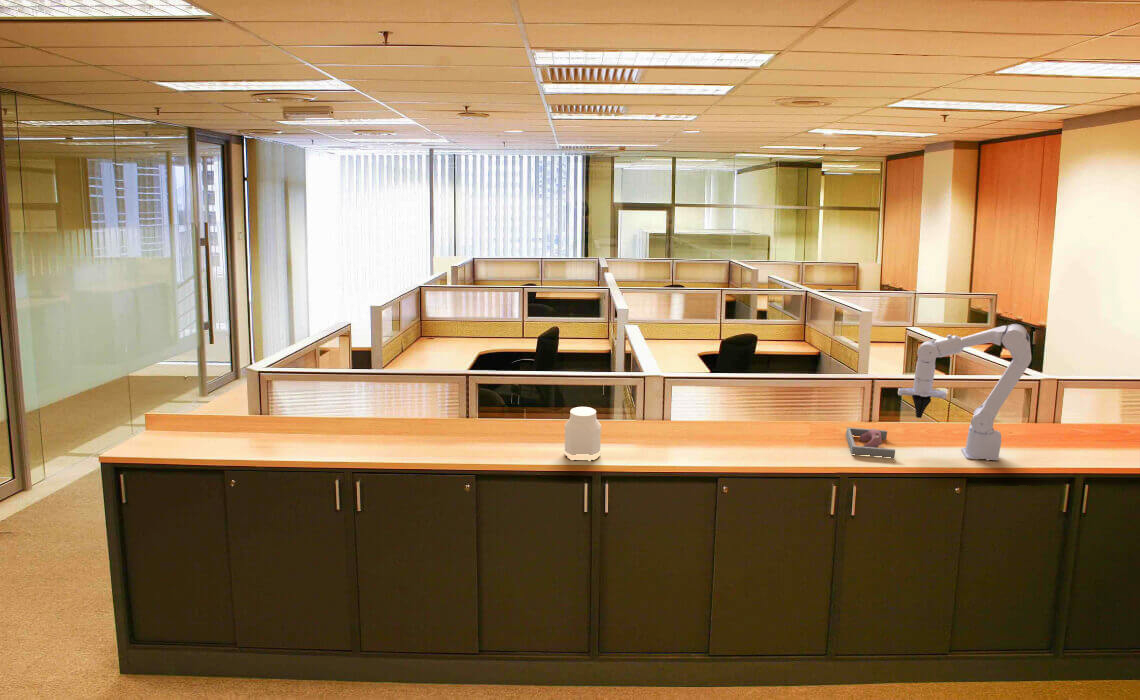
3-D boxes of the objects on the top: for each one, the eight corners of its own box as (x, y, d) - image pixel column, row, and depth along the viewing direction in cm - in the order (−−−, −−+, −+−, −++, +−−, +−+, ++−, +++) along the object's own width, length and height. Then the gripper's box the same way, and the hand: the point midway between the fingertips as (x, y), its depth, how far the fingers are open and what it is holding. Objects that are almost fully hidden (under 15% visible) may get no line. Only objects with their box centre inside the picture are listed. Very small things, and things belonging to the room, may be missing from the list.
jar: (563, 460, 256) (564, 416, 252) (565, 448, 266) (565, 405, 261) (600, 461, 256) (601, 417, 252) (600, 449, 265) (601, 406, 261)
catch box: (885, 438, 277) (886, 430, 276) (894, 459, 261) (895, 450, 260) (845, 435, 279) (846, 427, 278) (851, 455, 263) (852, 446, 262)
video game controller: (873, 457, 266) (886, 440, 263) (861, 450, 266) (873, 433, 264) (869, 445, 275) (882, 429, 273) (857, 438, 275) (869, 422, 273)
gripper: (902, 380, 264) (897, 419, 268) (950, 383, 262) (944, 423, 266) (899, 373, 271) (893, 411, 275) (945, 376, 268) (939, 415, 272)
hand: (918, 416), depth 271 cm, fingers closed
